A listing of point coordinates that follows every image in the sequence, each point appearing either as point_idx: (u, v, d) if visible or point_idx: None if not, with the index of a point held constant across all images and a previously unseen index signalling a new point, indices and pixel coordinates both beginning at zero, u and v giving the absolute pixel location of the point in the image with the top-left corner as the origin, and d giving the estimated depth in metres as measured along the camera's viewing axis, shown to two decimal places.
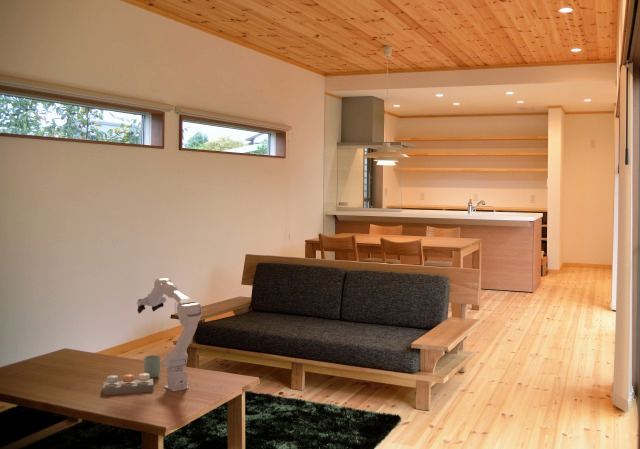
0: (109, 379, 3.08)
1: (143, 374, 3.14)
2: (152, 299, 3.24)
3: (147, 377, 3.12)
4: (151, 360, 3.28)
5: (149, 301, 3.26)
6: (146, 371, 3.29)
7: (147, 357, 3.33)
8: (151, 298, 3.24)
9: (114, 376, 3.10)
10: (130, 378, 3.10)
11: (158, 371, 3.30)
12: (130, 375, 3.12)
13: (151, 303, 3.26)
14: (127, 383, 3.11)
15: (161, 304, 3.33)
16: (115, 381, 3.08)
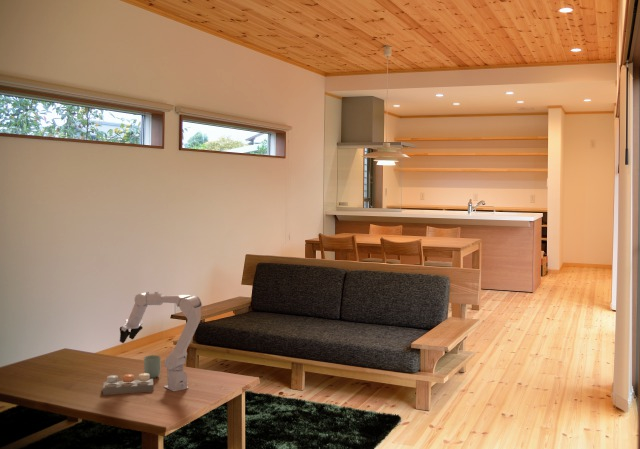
0: (109, 379, 3.08)
1: (143, 374, 3.14)
2: (136, 319, 3.19)
3: (147, 377, 3.12)
4: (151, 360, 3.28)
5: (132, 323, 3.19)
6: (146, 371, 3.29)
7: (147, 357, 3.33)
8: (134, 318, 3.18)
9: (114, 376, 3.10)
10: (130, 378, 3.10)
11: (158, 371, 3.30)
12: (130, 375, 3.12)
13: (135, 325, 3.20)
14: (127, 383, 3.11)
15: (140, 326, 3.27)
16: (115, 381, 3.08)
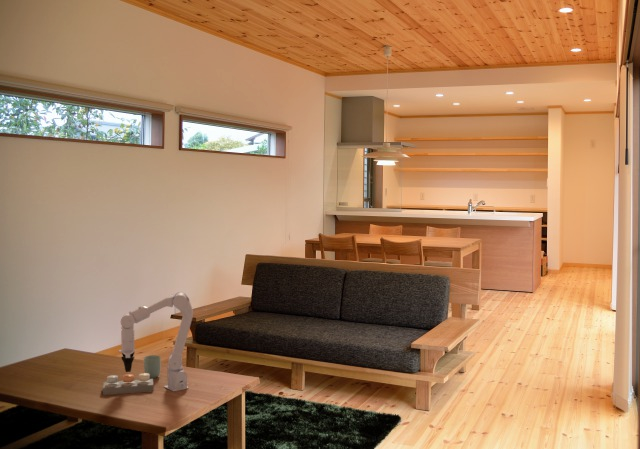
0: (109, 379, 3.08)
1: (143, 374, 3.14)
2: (131, 342, 3.09)
3: (147, 377, 3.12)
4: (151, 360, 3.28)
5: (130, 348, 3.09)
6: (146, 371, 3.29)
7: (147, 357, 3.33)
8: (130, 342, 3.08)
9: (114, 376, 3.10)
10: (130, 378, 3.10)
11: (158, 371, 3.30)
12: (130, 375, 3.12)
13: (132, 348, 3.10)
14: (127, 383, 3.11)
15: None
16: (115, 381, 3.08)
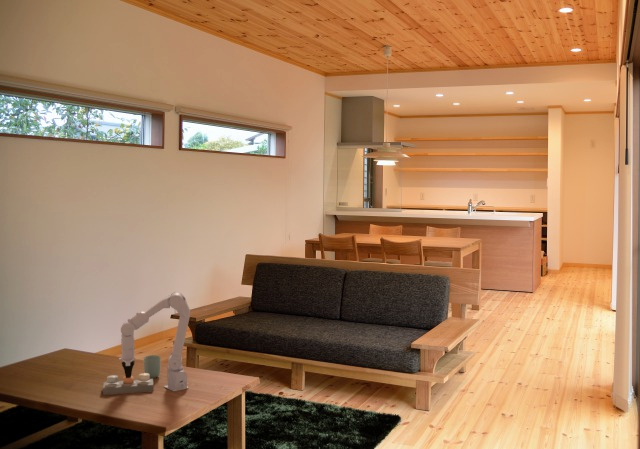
0: (109, 379, 3.08)
1: (143, 374, 3.14)
2: (131, 350, 3.09)
3: (147, 377, 3.12)
4: (151, 360, 3.28)
5: (130, 356, 3.09)
6: (146, 371, 3.29)
7: (147, 357, 3.33)
8: (130, 350, 3.09)
9: (114, 376, 3.10)
10: (130, 379, 3.10)
11: (158, 371, 3.30)
12: None
13: (133, 356, 3.10)
14: None
15: None
16: (115, 381, 3.08)
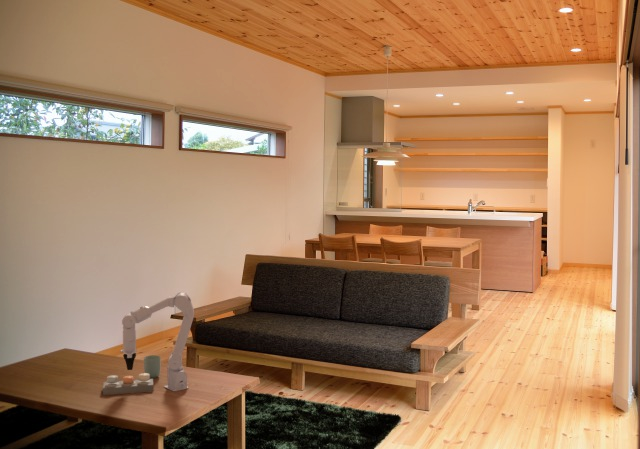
0: (109, 379, 3.08)
1: (143, 374, 3.14)
2: (133, 342, 3.09)
3: (147, 377, 3.12)
4: (151, 360, 3.28)
5: (132, 348, 3.09)
6: (146, 371, 3.29)
7: (147, 357, 3.33)
8: (132, 342, 3.09)
9: (114, 376, 3.10)
10: (130, 379, 3.10)
11: (158, 371, 3.30)
12: (130, 377, 3.12)
13: (134, 348, 3.10)
14: None
15: None
16: (115, 381, 3.08)
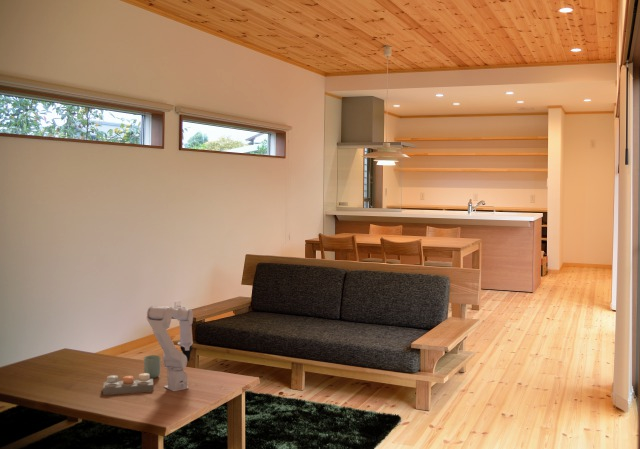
0: (109, 379, 3.08)
1: (143, 374, 3.14)
2: (189, 335, 3.23)
3: (147, 377, 3.12)
4: (151, 360, 3.28)
5: (188, 341, 3.23)
6: (146, 371, 3.29)
7: (147, 357, 3.33)
8: (188, 335, 3.23)
9: (114, 376, 3.10)
10: (130, 379, 3.10)
11: (158, 371, 3.30)
12: (130, 377, 3.12)
13: (191, 341, 3.24)
14: None
15: None
16: (115, 381, 3.08)
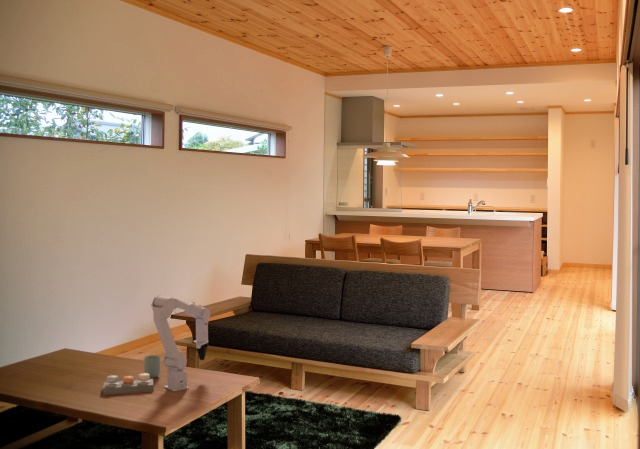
0: (109, 379, 3.08)
1: (143, 374, 3.14)
2: (204, 334, 3.26)
3: (147, 377, 3.12)
4: (151, 360, 3.28)
5: (202, 339, 3.26)
6: (146, 371, 3.29)
7: (147, 357, 3.33)
8: (202, 334, 3.26)
9: (114, 376, 3.10)
10: (130, 379, 3.10)
11: (158, 371, 3.30)
12: (130, 377, 3.12)
13: (205, 339, 3.27)
14: None
15: None
16: (115, 381, 3.08)
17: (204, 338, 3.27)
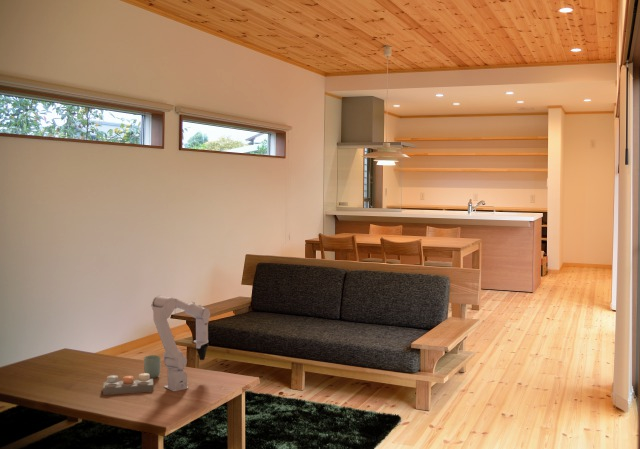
0: (109, 379, 3.08)
1: (143, 374, 3.14)
2: (204, 334, 3.26)
3: (147, 377, 3.12)
4: (151, 360, 3.28)
5: (202, 339, 3.26)
6: (146, 371, 3.29)
7: (147, 357, 3.33)
8: (202, 334, 3.26)
9: (114, 376, 3.10)
10: (130, 379, 3.10)
11: (158, 371, 3.30)
12: (130, 377, 3.12)
13: (205, 339, 3.27)
14: None
15: None
16: (115, 381, 3.08)
17: (204, 338, 3.27)
